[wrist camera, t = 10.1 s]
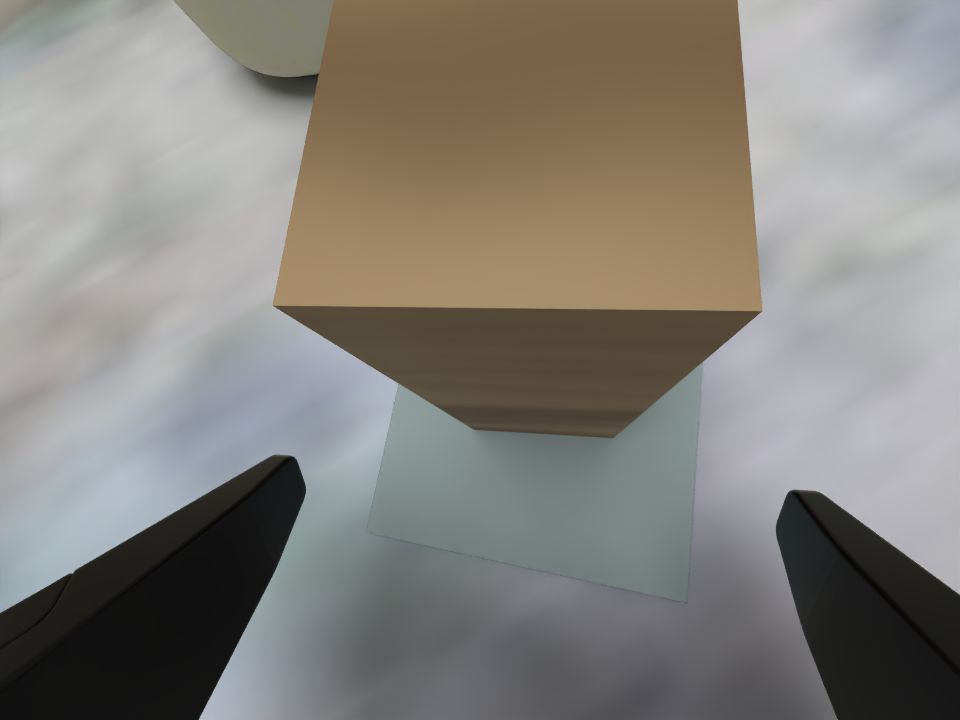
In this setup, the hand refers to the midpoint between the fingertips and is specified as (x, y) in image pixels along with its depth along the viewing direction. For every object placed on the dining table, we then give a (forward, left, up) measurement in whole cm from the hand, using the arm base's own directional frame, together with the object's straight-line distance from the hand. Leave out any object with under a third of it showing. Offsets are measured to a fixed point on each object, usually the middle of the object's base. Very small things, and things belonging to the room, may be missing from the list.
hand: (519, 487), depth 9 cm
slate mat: (+4, 0, -8) cm, 9 cm away
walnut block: (+4, 0, -8) cm, 9 cm away
